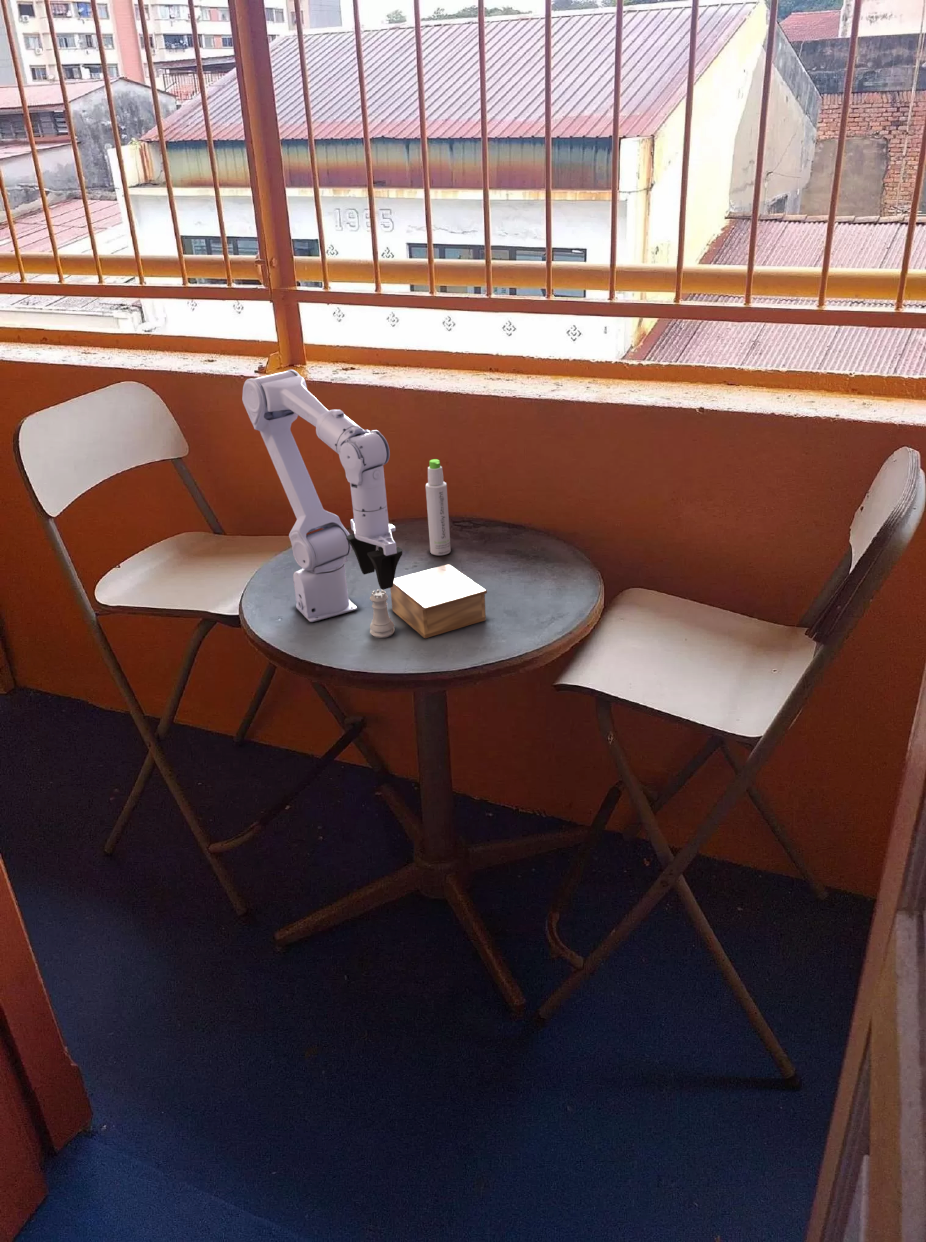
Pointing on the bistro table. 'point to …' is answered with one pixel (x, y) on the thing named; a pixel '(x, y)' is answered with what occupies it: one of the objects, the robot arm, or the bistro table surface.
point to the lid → (438, 587)
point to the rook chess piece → (380, 616)
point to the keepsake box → (438, 614)
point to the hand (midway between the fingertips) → (377, 580)
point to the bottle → (437, 510)
